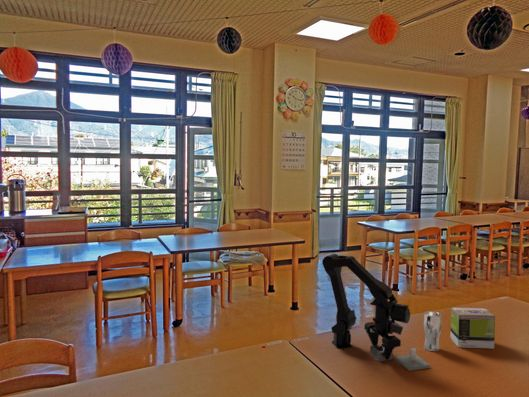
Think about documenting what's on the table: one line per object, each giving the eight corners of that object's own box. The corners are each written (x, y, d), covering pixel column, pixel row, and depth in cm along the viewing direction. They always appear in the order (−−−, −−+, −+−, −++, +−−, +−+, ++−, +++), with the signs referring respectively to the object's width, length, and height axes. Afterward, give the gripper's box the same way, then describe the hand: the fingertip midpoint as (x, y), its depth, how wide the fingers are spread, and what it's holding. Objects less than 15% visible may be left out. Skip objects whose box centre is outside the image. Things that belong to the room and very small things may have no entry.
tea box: (484, 339, 184) (486, 307, 183) (494, 349, 174) (496, 315, 173) (449, 338, 186) (450, 306, 185) (457, 348, 176) (459, 314, 175)
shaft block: (408, 370, 156) (409, 355, 156) (395, 359, 165) (396, 345, 164) (429, 367, 158) (430, 352, 158) (415, 357, 167) (416, 342, 167)
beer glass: (421, 349, 174) (423, 315, 172) (423, 343, 180) (425, 310, 179) (439, 353, 171) (441, 318, 169) (441, 346, 177) (442, 312, 175)
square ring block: (378, 361, 163) (378, 352, 163) (370, 354, 170) (370, 345, 169) (392, 359, 165) (392, 351, 165) (384, 352, 171) (384, 344, 171)
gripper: (413, 324, 159) (412, 363, 160) (387, 307, 177) (386, 342, 178) (387, 326, 156) (386, 366, 157) (364, 309, 174) (363, 345, 175)
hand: (381, 354), depth 167 cm, fingers open, 9 cm apart
